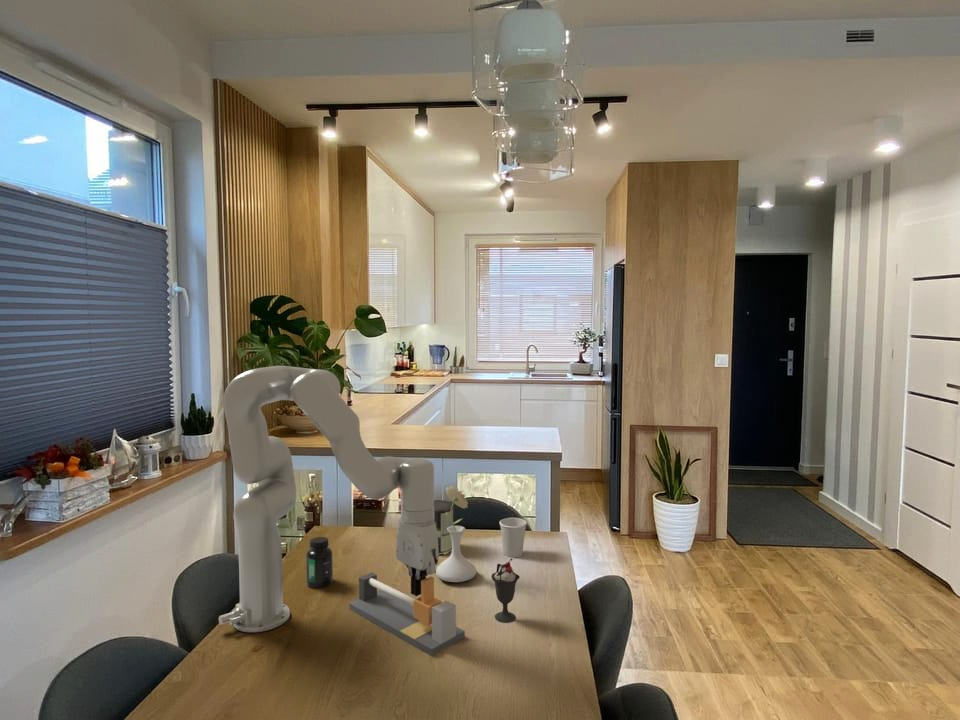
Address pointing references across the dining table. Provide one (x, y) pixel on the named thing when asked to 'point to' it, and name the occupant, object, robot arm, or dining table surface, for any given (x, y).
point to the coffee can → (443, 525)
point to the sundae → (505, 589)
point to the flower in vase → (456, 546)
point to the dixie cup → (513, 536)
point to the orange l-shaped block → (425, 601)
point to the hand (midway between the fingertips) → (418, 593)
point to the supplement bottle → (319, 563)
